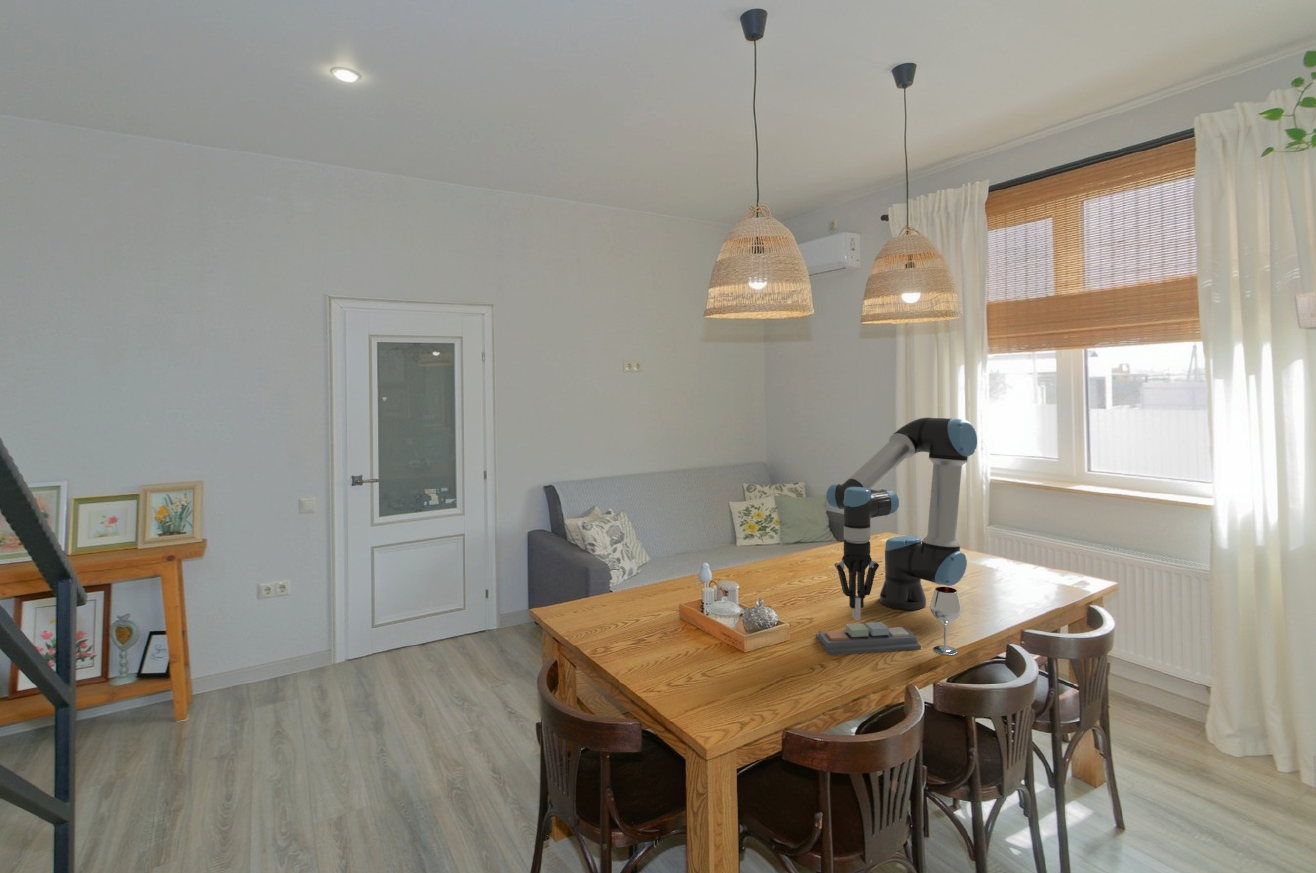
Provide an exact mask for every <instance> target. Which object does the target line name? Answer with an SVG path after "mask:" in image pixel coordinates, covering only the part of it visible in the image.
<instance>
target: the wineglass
mask: <svg viewBox="0 0 1316 873" xmlns="http://www.w3.org/2000/svg"><path fill="white" fill-rule="evenodd" d="M958 593H959V592H958V590H957V589H955V588H953V587H951V586H937V587H935V588H934V591H933V595H932V597H931V601H930V607H929V608H930V612H931V614H932V616H933V617H934V618H935V619H936V620H938V621H939V622H940V623H941V624H942V626H943V645H942V644H940V645H939V644H938V645H935V646H933V649H932V650H933V651H934V652H935V651H936V652H935V653H938V654H939V653H940V655H943V656H954V655H957V654H958V650H957V649H956V647H953V646H950V645H948V638H947V637H948V627H949V626H950V624H952V623H954V622H955V621H957V619H959V617H960V616H961V613H962V605H961V601H960V597H959V594H958Z"/></svg>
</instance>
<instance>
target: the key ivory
mask: <svg viewBox="0 0 1316 873" xmlns="http://www.w3.org/2000/svg"><path fill="white" fill-rule="evenodd" d="M902 627H903V626H900V627H899V626H897V627H888V628H889V635H890V636H891V637H904V636H909V633H908V632H907V631H906V630H904V629H903V628H902Z"/></svg>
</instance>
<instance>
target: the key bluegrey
mask: <svg viewBox="0 0 1316 873" xmlns="http://www.w3.org/2000/svg"><path fill="white" fill-rule="evenodd" d="M865 627H866V628H867V629H868V632H869V633H870V634H871V635H872V636H877V635H889V628H890V627H888V626H887V625H886V624H884V622H882V621H876V622H866V623H865Z"/></svg>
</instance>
